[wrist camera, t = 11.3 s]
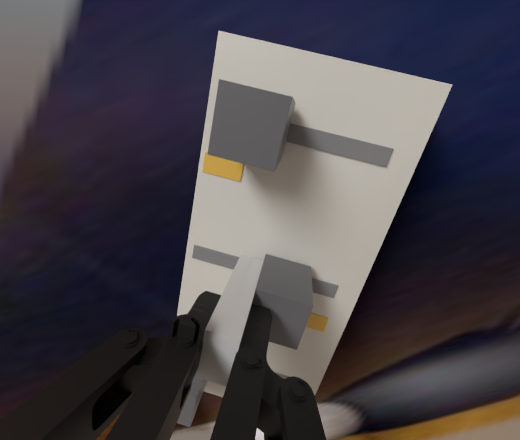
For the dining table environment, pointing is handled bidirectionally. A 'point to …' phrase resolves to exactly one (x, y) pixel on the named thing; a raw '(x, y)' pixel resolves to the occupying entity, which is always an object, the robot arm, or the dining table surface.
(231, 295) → the robot arm
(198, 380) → the tab
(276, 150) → the tab
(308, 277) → the tab
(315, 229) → the switch bank
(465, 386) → the dining table surface
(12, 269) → the dining table surface
